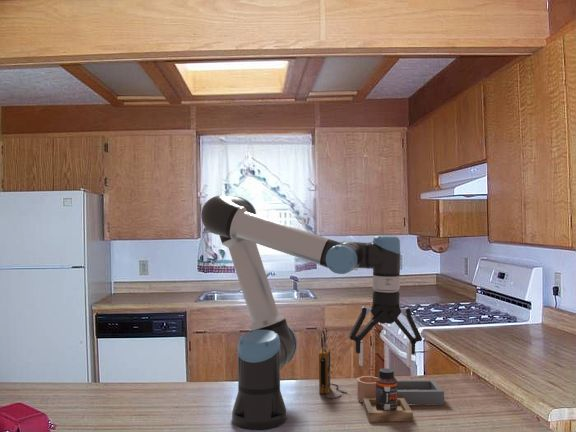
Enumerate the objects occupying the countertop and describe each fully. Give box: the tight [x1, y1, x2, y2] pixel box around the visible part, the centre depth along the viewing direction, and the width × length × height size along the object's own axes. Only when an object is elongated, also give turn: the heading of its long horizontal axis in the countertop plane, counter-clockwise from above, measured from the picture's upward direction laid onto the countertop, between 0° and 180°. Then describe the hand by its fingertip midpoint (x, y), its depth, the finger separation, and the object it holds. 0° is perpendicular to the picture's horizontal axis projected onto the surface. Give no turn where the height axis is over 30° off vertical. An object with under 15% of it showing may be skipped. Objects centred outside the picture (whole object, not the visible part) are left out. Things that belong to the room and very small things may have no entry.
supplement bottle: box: [376, 368, 398, 411], centre depth 145 cm, size 6×6×11 cm
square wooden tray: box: [362, 398, 414, 423], centre depth 145 cm, size 12×12×2 cm
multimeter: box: [318, 327, 351, 400], centre depth 163 cm, size 15×10×20 cm
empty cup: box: [356, 375, 378, 403], centre depth 156 cm, size 7×7×6 cm
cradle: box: [396, 379, 445, 406], centre depth 156 cm, size 16×11×4 cm
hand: (384, 365), depth 145 cm, fingers open, 13 cm apart
